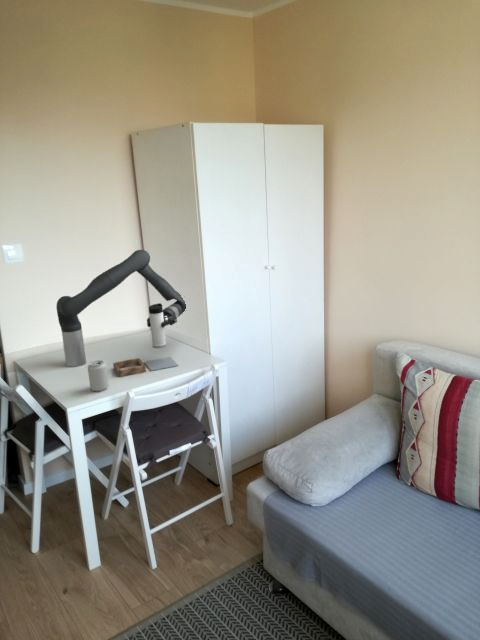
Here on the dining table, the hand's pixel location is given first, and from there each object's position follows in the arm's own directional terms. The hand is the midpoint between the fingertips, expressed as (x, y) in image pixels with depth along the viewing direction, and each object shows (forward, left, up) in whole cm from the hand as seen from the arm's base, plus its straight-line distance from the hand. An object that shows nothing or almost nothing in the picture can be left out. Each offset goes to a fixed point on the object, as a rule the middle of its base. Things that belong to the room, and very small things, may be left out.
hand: (155, 325), depth 234 cm
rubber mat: (+1, +2, -20) cm, 20 cm away
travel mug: (+2, +2, -11) cm, 11 cm away
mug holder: (-14, +2, -20) cm, 24 cm away
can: (-30, -13, -20) cm, 38 cm away
